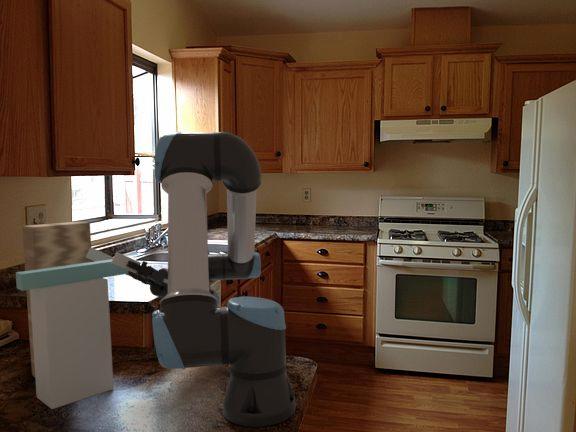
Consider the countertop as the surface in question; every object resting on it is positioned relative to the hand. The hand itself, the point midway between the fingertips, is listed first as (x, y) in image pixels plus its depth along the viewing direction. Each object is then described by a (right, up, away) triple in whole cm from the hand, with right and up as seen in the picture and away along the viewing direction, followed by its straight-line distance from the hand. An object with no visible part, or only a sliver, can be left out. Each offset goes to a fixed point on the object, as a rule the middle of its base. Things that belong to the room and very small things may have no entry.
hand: (100, 254), depth 121 cm
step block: (-5, -32, -3) cm, 32 cm away
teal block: (-4, -6, -4) cm, 8 cm away
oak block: (-13, -31, +11) cm, 35 cm away
